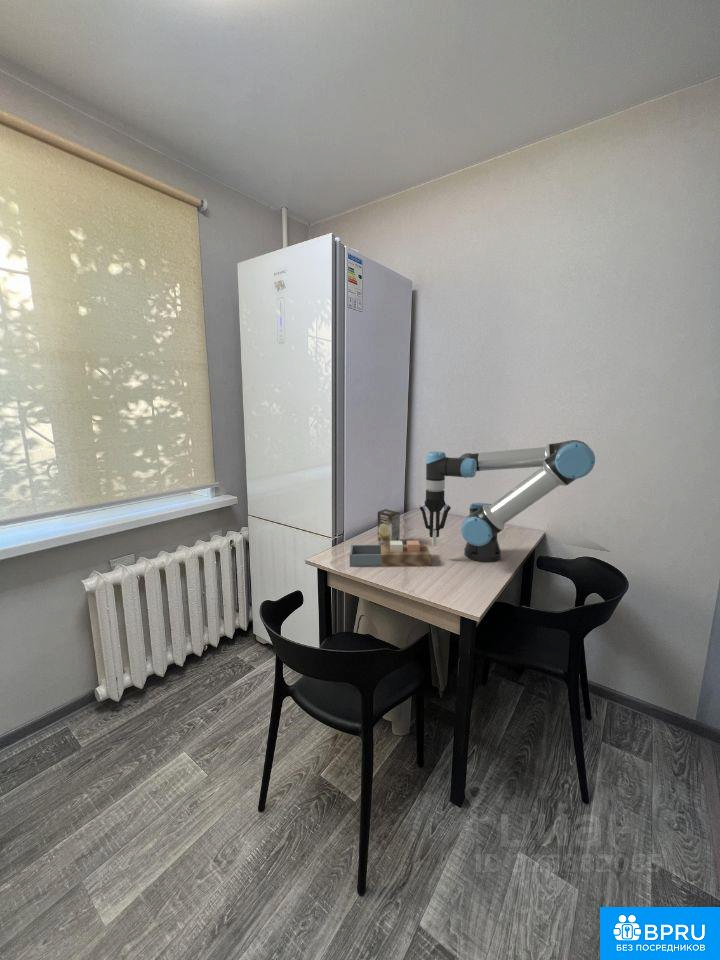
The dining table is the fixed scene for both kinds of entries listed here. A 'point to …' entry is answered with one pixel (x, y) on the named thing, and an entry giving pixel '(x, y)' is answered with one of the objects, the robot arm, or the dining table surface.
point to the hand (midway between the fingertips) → (434, 544)
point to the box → (365, 556)
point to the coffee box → (388, 526)
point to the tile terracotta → (413, 546)
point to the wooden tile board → (405, 557)
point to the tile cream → (396, 546)
